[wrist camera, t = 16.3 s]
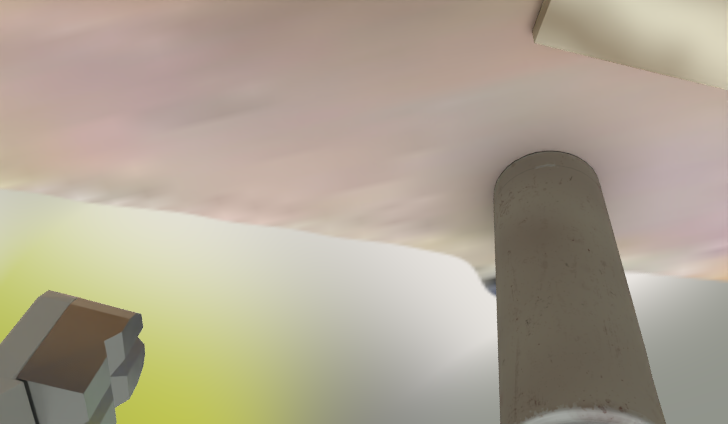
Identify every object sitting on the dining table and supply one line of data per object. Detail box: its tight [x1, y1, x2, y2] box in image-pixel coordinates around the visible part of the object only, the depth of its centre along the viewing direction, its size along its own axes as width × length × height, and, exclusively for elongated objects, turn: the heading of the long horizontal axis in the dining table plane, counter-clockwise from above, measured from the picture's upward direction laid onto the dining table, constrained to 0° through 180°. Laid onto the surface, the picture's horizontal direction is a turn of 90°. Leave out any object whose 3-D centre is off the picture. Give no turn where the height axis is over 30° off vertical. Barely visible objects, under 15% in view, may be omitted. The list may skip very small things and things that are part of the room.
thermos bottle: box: [493, 151, 666, 424], centre depth 36 cm, size 8×8×28 cm
